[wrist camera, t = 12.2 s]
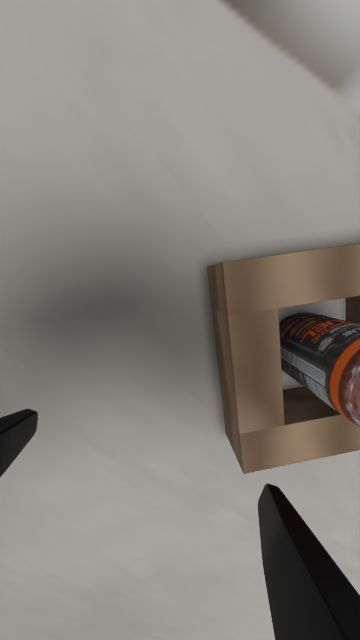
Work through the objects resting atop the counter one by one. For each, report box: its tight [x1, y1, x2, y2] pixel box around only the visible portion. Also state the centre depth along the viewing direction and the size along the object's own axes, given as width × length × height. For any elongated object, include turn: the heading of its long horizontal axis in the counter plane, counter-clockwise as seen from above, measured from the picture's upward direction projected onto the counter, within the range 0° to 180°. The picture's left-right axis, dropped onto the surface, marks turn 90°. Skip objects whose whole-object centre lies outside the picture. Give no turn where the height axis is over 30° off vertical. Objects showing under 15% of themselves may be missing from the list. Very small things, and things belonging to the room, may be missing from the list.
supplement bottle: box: [279, 313, 360, 427], centre depth 15 cm, size 6×6×11 cm
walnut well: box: [208, 244, 360, 474], centre depth 18 cm, size 16×16×4 cm
